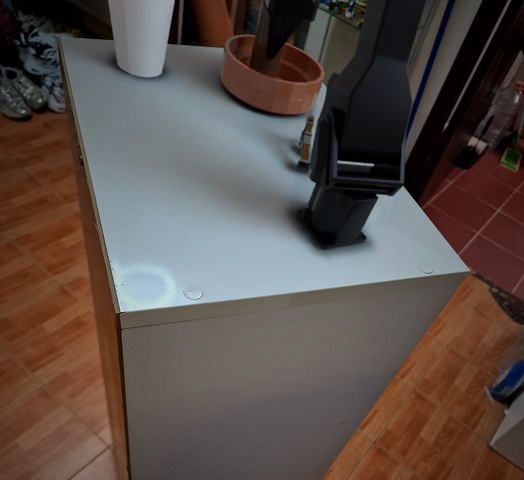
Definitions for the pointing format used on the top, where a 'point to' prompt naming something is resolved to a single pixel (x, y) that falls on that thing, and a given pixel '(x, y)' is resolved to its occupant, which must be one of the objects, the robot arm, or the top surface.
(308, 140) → the wooden post with brackets
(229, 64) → the bowl
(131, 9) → the foam cup
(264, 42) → the brown cylinder
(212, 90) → the top surface
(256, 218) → the top surface
